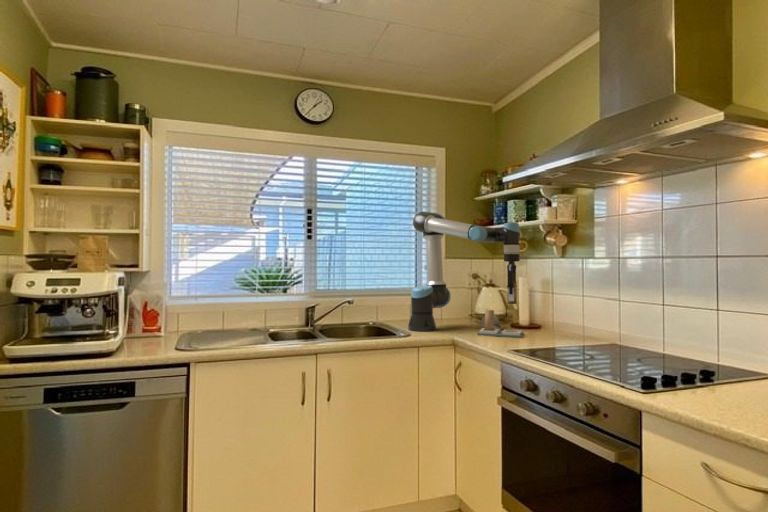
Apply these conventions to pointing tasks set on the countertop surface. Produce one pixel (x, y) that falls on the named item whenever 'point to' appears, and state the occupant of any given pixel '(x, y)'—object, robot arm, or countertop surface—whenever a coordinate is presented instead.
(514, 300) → the wooden pin
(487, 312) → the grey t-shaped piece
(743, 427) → the countertop surface
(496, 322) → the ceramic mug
